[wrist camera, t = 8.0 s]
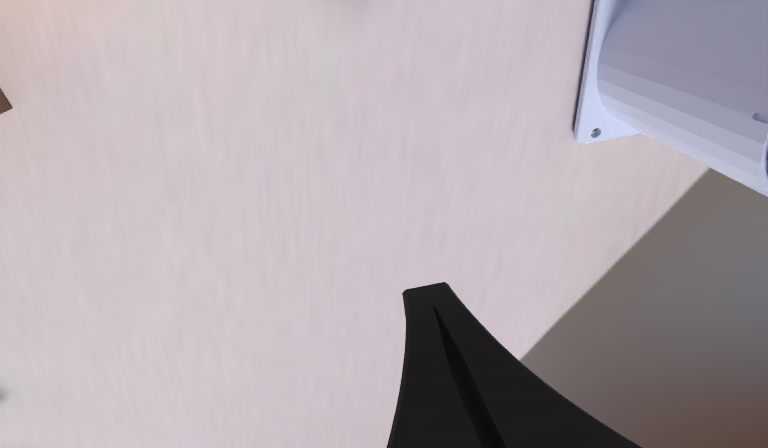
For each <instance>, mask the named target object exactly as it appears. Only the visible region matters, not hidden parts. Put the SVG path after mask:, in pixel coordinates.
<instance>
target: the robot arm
mask: <svg viewBox="0 0 768 448" xmlns="http://www.w3.org/2000/svg"><path fill="white" fill-rule="evenodd" d="M594 129H596V132H595V133H594V134H592V135H591V133H592V131H593V130H594ZM639 133H644V134H646V135H648V136H650V137H652V138H654V139H655V140H657V141H659V142H661V143H663V144H665V145H667V146H669V147H671V148H673V149H675V150H677V151H679V152H681V153H683V154H685V155H687V156H689V157H691V158H693V159H695V160H697V161H699V162H701V163H703V164H705V165H707V166H709V167H710V168H712V169H714V170H716V171H718V172H720V173H722V174H724V175H726V176H728V177H730V178H732V179H734V180H736V181H738V182H740V183H742V184H744V185H746V186H748V187H750V188H752V189H754V190H756V191H758V192H760V193H762V194H764V195H766V196H767V197H768V0H595V2H594V9H593V15H592V21H591V27H590V34H589V40H588V46H587V53H586V59H585V65H584V71H583V78H582V84H581V90H580V96H579V103H578V109H577V115H576V122H575V128H574V139H575V140H576V141H578V142H579V143H581V144H585V143H590V142H596V141H601V140H607V139H612V138H618V137H623V136H629V135H634V134H639ZM402 294H403V301H404V308H405V316H406V340H405V354H404V363H403V371H402V379H401V385H400V391H399V396H398V402H397V407H396V412H395V416H394V420H393V425H392V429H391V433H390V437H389V441H388V445H387V448H642V447H640V446H639V445H637V444H635V443H634V442H632V441H630V440H628V439H627V438H625V437H623V436H622V435H620V434H619V433H617V432H615V431H614V430H612V429H611V428H609V427H608V426H606V425H604V424H603V423H601V422H600V421H598V420H597V419H595V418H594V417H592V416H591V415H589V414H588V413H587V412H585V411H584V410H582V409H581V408H579V407H578V406H576V405H575V404H573V403H572V402H571V401H569V400H568V399H566V398H565V397H564V396H562V395H561V394H559V393H558V392H557V391H555V390H554V389H553V388H552V387H550V386H549V385H548V384H546V383H545V382H544V381H543V380H541V379H540V378H539V377H538V376H536V375H535V374H534V373H532V371H530V370H529V369H528V368H527V367H526V366H524V365H523V364H522V363H521V362H520V361H519V360H518V359H516V358H515V357H514V356H513V355H512V354H511V353H510V352H509V351H508V350H507V349H506V348H505V347H503V346H502V345H501V344H500V343H499V342H498V341H497V340H496V339H495V338H494V337H493V336H492V335H491V334H490V333H489V332H488V331H487V330H486V329H485V328H484V326H483V325H482V324H481V323H480V322H479V321H478V320H477V319H476V318H475V317H474V316H473V315H472V314H471V312H470V311H469V310H468V309H467V308H466V307H465V305H464V304H463V303H462V302H461V301H460V299H459V298H458V297H457V296H456V294H455V293H454V292H453V290H452V289H451V288H450V286H449V285H448V284H447V283H445V282H442V283H437V284H432V285H427V286H422V287H417V288H412V289H407V290H405V291H404V292H403V293H402Z"/></svg>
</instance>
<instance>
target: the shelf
mask: <svg viewBox="0 0 768 448" xmlns="http://www.w3.org/2000/svg"><path fill="white" fill-rule="evenodd" d="M10 109H12V107H11V105H10V104H9V102H8V101H7V99H6V98H5V96H4V95H3V93H2V92H1V90H0V114H1V113H4V112H6V111H8V110H10Z"/></svg>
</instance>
